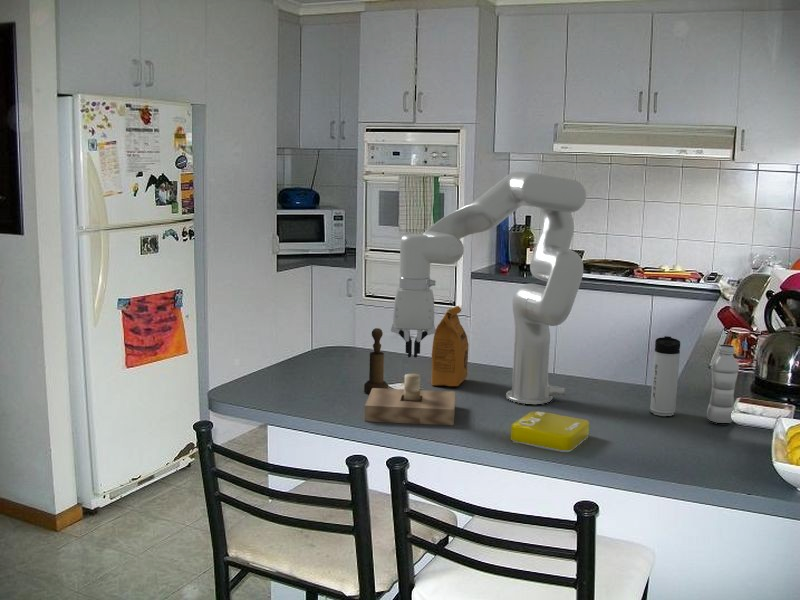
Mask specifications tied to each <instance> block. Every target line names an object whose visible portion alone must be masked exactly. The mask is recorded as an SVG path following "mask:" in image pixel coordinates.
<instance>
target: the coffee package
mask: <svg viewBox="0 0 800 600" xmlns="http://www.w3.org/2000/svg"><path fill="white" fill-rule="evenodd" d="M461 312H462V309H461V307H460V306H459V305H456V306H454V307H451V308H449V309H447V310H446V312H445V314H444V316H443V317H442V319H441V320H440V321H439V324H438V325H436V327H435V329H436V333H435V334H433V340H432V348H431V378H430V379H431V380H430V381H431V382H430V385H431V386H433V387H434V386H435V387H436V386H438V387H439V386H441V387H442V386H445V387H458V386H460V384H462V383H463V382H464V381H465V380H466V378H468V364H469V341H468V335H467V333H466V331H465V328H464V327H463V325H462V324H461V322H460V318H459V316H458V314H459V313H461Z"/></svg>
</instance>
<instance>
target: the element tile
mask: <svg viewBox="0 0 800 600" xmlns="http://www.w3.org/2000/svg"><path fill="white" fill-rule="evenodd" d="M589 433H590V422H589V420H587V419H585V418H584V419H583V418H577V417H572V416H567V415H562V414H557V413H551V412H545V411H539V410H533V411H530V412H529V413H527V414H525V415H524V416H523V417H521V418H519V419H517V420H516V421H515V422H513V423H511V424H510V439H511V440H514V441H518V442H524V443H529V444H534V445H539V446H544V447H549V448H554V449H559V450H571V449H573V448H574V447H575V446H576V445H578V444H579V443H580V442H581V441H582V440H584V439H585V438H586V437H587V436H588V435H589ZM589 436H590V435H589ZM589 436H588V437H589Z"/></svg>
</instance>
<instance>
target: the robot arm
mask: <svg viewBox="0 0 800 600" xmlns="http://www.w3.org/2000/svg"><path fill="white" fill-rule="evenodd" d="M586 201H587V192H586V189H585V186H584V185H583V184H582V183H581V182H580V181H578V180H576V179H571V178H565V177H561V176H560V177H558V176H554V175H553V176H552V175H549V174H542V173H538V172H528V171H527V172H525V171H513V172H511V173H508V174H507V175H506V176H504V177H503V178H502V179H501V180H499V181H498V182H497V183H496V184H494V185H493V186H492V187H490V188H489V189H488V190H486V191H485V192H484V193H483V194H482V195H480V196H479V197H477V198H476V199H475V200H474V201H473V202H471V203H469V204H466V205H464V206H462V207H460V208H459V209H457V210H454V211H452V212H450V213H448V214H447V215H444V216H443V217H441V219H439V220H438V221H436V222H434V224H432V225H431V226H430V227H428V228H427V229H426V230H425V231H424V232H423V233H422V234H419V233H410V234H404V235H403V236H402V237H401V238H400V245H399V246H400V247H399V249H400V250H399V252H400V253H399V260H400V261H399V287H397V288H396V291H395V296H394V301H393V302H394V304H393V317H392V321H393V322H392V326H391V329H390V332H391V333H394V334H396V335H399V336H400V337H401V338H402V339H403V340H404V341H405V354H407V358H411V357H412V355H413V357H414V358H417V357H418V354H421V341H422V340H423V339H425V338H426V337H427V336H430V335H434V334H435V333H436V326H435V299H434V291H433V289H431V287H435V286H436V282H437V281H436V280H435V279H432V278H431V264H437V265H452V264H455V263H457V262H459V261H460V260H461V259H462V257H463V255H464V252H465V251H464V250H465V247H464V244H463V242H462V240H461V239H462V238H465V237H467V236H470V235H473V234H478V233H483V232H486V231H489V230H492V229H494V228H496V227H497V226H498V225H500V224H501V223H503V222H504V220H505V219H507V218H508V217H510V216H511V214H513V213H515V212H516V211H517V210H519V208H521V207H525V206H526V207H533V208H537V209H539V212H540V215H541V220H542V222H541V223H542V224H541V229H540V233H539V236H538V238H537V239H538V240H537V241H536V245H535V249H534V251H533V254H532V256H531V259H530V263H529V264H530V265H529V270H530V271H529V272H530V273H531V275H532V276H533V277H534V278H536V279H538V280H541V281H542V282H546V285H542V284H537V283H526V284H523V285H521V286H519V287H518V288H517V290H516V291H515V292H514V294H513V299H512V313H513V320H514V321H513V322H514V336H513V337H514V339H513V340H514V341H513V342H514V343H513V361H512V379H511V380H512V383H511V390H508V391H506V394H505V398H506V399H507V400H508V399H509V400H508V401H510V400H511V401H510V402H512V401H513V402H512V403H515V402H518V403H517V404H519V403H526V404H542V403H547V402H550V401H551V400H552V399H553V395H559V396H565V393H566V392H565V391H566V390H565V389H566V388H565V387H560V386H557V385H550V384H549V366H550V365H549V363H550V348H551V346H550V345H551V332H550V330H551V329H550V327H556V326H559V325H561V324H563V323H564V322H565V321H566V320H567V319H568V317H569V316H570V313H571V312H572V308H573V305H574V304H575V301H576V297H577V295H578V291H579V290H580V289H579V288H580V286H581V282H582V280H583V276H584V275H583V274H584V262H583V259H582V258H581V256H580V254H578V252H576V251H574V250H572V249H570V248H571V242H572V240H573V236H574V232H575V231H574V229H575V224H574V218H573V214H572V213H575V212H577V211H579V210H580V209H581V208H583V207H584V205H585V203H586ZM410 330H412V331H413V330H415V331H417V332H416V337H415V338H414V339H415V340H414V343H413V339H412V337H411V333H410V332H411V331H410ZM412 346H413V347H412ZM412 351H413V353H412ZM552 401H553V400H552ZM552 401H551V402H552ZM551 402H550V403H551ZM547 404H548V403H547ZM542 405H543V404H542Z"/></svg>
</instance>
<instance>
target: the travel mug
mask: <svg viewBox="0 0 800 600" xmlns="http://www.w3.org/2000/svg"><path fill="white" fill-rule="evenodd" d="M654 343H655V344H654V347H655V348H654V351H653V352H654V354H653V363H652V364H653V367H652V377H651V378H652V379H651V380H652V382H651V392H650V393H651V395H650V405H649V406H650V407H649V411H650V410H651V411H653V412H655V413H659V414H672V413H675V414H676V404H677V393H678V380H679V369H680V368H679V367H680V357H681V356H680V354H681V352H680V351H681V349H680V348H681V341H680V340H679V339H677V338H674V337H673V338H672V336H667V335H665V336H664V337H663V336H662V337H658V338H656V339H655V341H654Z"/></svg>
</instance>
